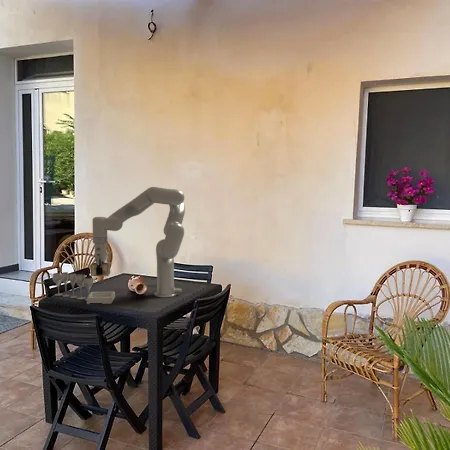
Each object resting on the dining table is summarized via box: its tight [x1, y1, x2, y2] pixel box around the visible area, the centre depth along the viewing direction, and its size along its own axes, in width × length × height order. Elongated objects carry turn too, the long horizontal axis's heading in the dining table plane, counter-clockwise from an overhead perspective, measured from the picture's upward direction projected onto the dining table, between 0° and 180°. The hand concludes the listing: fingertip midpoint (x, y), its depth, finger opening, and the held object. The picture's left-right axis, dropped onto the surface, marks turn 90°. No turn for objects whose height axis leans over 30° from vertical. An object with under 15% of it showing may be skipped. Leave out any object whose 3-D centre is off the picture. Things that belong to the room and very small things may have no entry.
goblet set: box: [52, 271, 94, 302], centre depth 250 cm, size 28×6×13 cm, turn 62°
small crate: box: [90, 262, 111, 277], centre depth 244 cm, size 9×7×6 cm
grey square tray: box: [86, 291, 116, 305], centre depth 245 cm, size 13×13×3 cm
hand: (100, 273), depth 244 cm, fingers closed on small crate, 6 cm apart
